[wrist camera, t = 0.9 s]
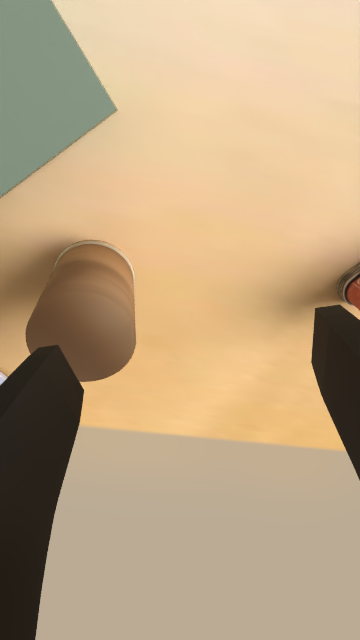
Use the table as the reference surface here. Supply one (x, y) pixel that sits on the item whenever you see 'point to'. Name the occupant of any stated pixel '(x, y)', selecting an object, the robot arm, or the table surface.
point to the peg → (88, 310)
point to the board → (42, 89)
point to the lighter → (350, 286)
